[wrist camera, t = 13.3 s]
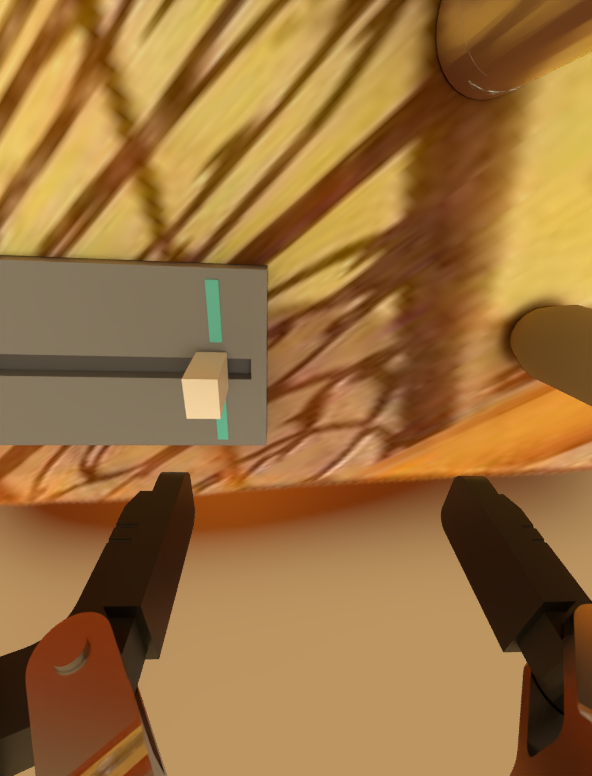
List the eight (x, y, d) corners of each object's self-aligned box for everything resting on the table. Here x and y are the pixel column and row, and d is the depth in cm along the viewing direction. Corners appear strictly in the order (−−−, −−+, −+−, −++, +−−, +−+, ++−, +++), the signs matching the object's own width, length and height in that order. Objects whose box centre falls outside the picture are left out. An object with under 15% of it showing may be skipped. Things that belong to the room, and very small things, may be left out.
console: (-65, 252, 30) (-94, 256, 28) (267, 265, 32) (266, 270, 30) (15, 431, 40) (-2, 446, 37) (266, 432, 42) (266, 446, 39)
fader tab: (198, 346, 34) (181, 379, 28) (228, 347, 34) (217, 379, 28) (202, 380, 36) (186, 418, 30) (230, 381, 36) (220, 418, 30)
